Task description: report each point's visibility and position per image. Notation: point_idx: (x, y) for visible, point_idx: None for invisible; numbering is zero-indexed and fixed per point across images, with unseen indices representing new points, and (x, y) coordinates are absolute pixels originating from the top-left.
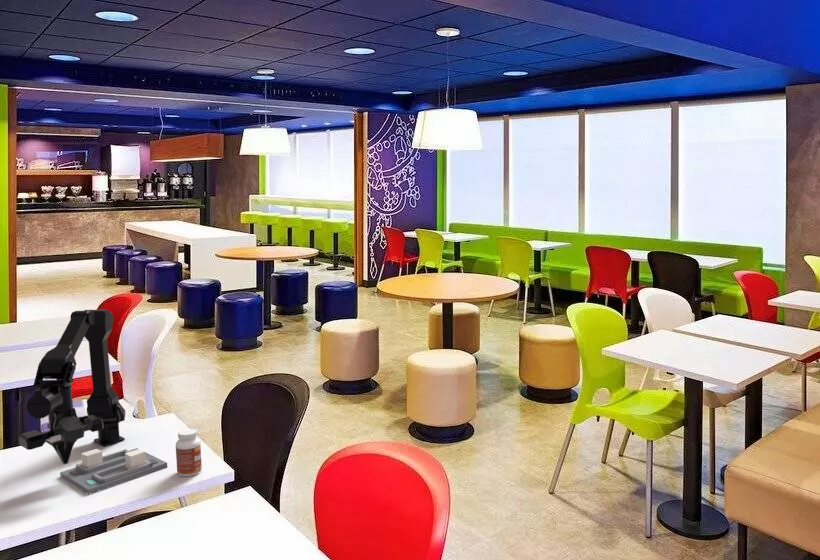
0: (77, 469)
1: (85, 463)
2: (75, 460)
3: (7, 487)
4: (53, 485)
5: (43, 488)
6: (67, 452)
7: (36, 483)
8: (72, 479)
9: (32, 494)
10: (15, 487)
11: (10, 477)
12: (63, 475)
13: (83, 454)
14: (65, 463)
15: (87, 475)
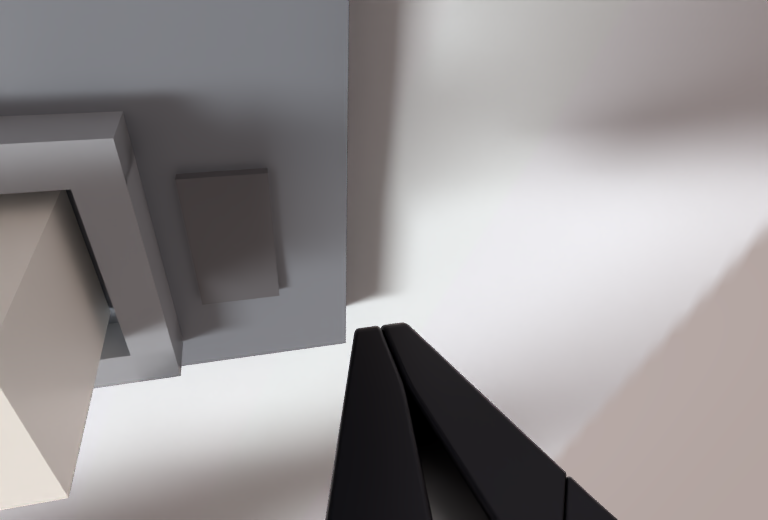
0: (177, 309)
1: (61, 299)
2: (119, 507)
3: (652, 346)
4: (479, 166)
5: (568, 166)
6: (421, 497)
7: (526, 299)
8: (341, 57)
9: (700, 104)
10: (635, 320)
11: None
12: (343, 274)
13: (41, 451)
14: (394, 326)
15: (104, 25)
